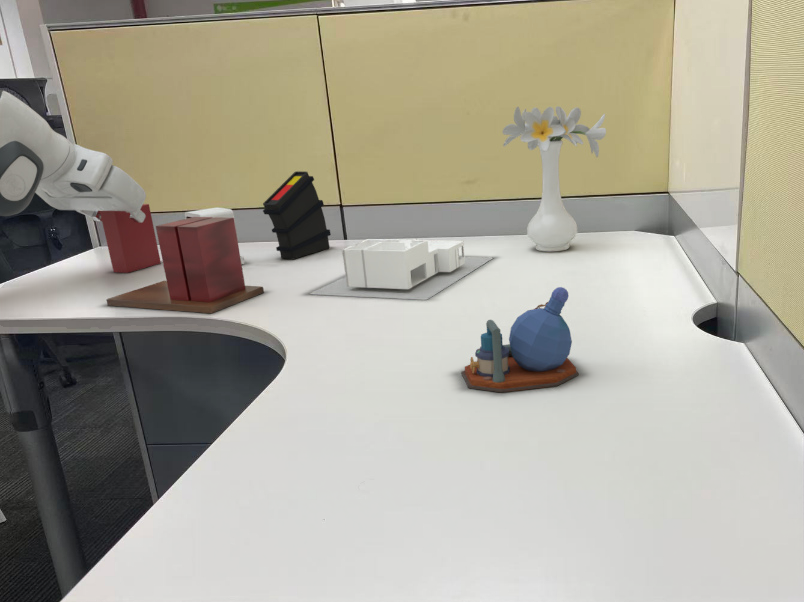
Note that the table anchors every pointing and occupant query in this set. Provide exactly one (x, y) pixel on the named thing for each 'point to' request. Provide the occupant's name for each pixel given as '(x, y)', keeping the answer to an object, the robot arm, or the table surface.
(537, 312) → the model
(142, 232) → the book
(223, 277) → the book rack
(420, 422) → the table surface
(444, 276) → the house
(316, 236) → the magazine
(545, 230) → the flower vase
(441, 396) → the table surface
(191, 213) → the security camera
